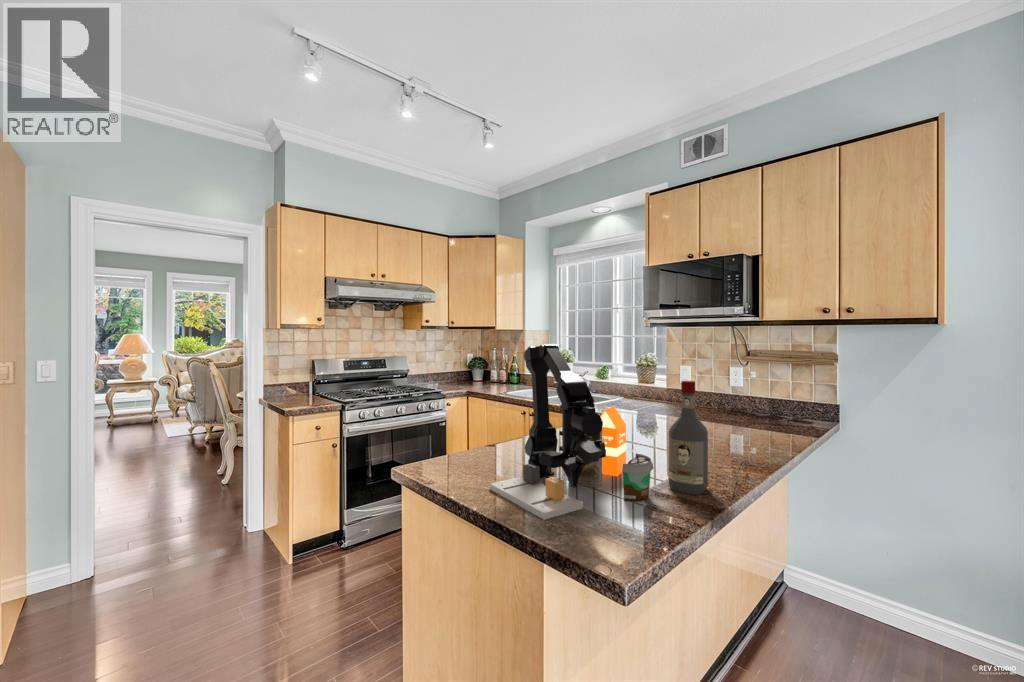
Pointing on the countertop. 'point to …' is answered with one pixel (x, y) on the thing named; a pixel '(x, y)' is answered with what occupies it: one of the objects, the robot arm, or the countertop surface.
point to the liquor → (688, 447)
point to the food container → (637, 478)
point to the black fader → (531, 473)
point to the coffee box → (592, 469)
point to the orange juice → (613, 442)
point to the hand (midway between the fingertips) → (573, 487)
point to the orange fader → (554, 488)
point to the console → (535, 498)
